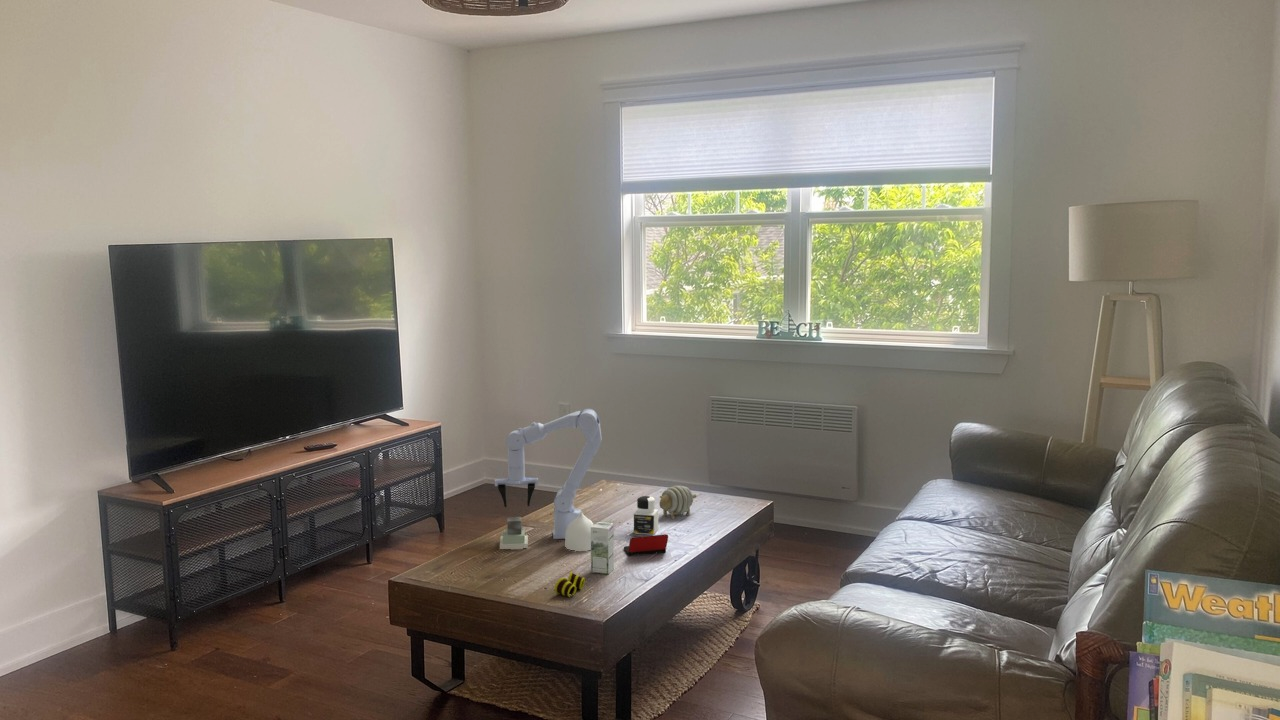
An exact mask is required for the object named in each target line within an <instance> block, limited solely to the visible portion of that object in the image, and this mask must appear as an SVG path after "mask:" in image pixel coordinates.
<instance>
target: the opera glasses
mask: <svg viewBox="0 0 1280 720" xmlns="http://www.w3.org/2000/svg"><path fill="white" fill-rule="evenodd" d="M585 582H586V577H582V576H580V575H579V574H576V573H574V571H570V572H569V575H568V577H567V578H566V577H560V578H559V579H558V581H557V582H556V583H555V584H554V593H555V594H556V595H558V594H560V595H562V596H565V595H566V597H568V598H571V597H570V596H572V595H574V596H575V594H576V593H577V590H580V591H581V589H582V590H583V588H584V586H585ZM569 594H571V595H569ZM572 597H573V596H572Z"/></svg>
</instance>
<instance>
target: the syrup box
mask: <svg viewBox="0 0 1280 720" xmlns="http://www.w3.org/2000/svg"><path fill="white" fill-rule="evenodd" d="M614 525H615V524H614V523H613V522H603V521H602V522H601V521H600V522H599V521H595V522H594V523H593V525H592V526H591V551H590V570H591V571H590V573H591V574H599V573H600V574H601V575H602V574H603V575H610V573H611V572H612V571H613V570H614V568H615V558H614V557H615V556H614V555H615V552H614V551H615V550H614V547H615V546H614V542H615V539H614V537H615V536H614V534H615V532H614V531H615V528H614V527H615V526H614Z"/></svg>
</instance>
